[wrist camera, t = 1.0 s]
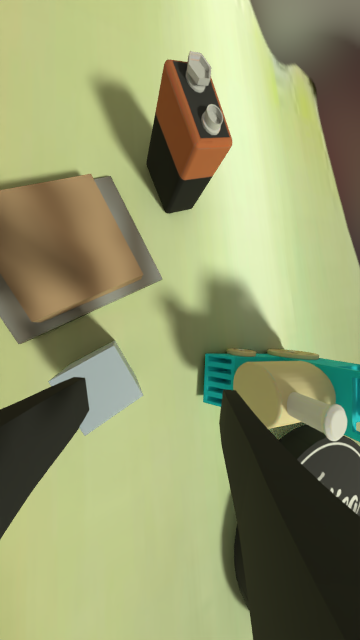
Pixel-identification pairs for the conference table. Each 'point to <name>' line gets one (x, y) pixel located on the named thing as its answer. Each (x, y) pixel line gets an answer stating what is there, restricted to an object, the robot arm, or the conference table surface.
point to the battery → (186, 133)
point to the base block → (66, 253)
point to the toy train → (289, 388)
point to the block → (103, 384)
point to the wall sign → (317, 474)
